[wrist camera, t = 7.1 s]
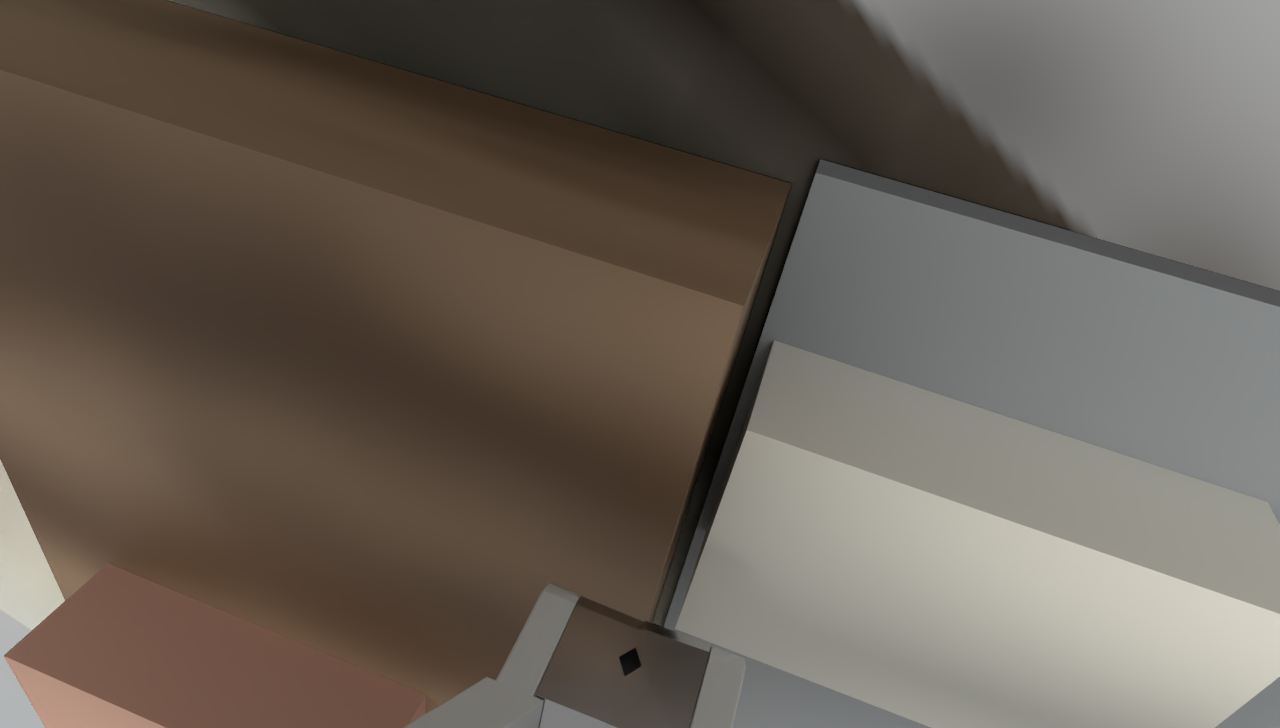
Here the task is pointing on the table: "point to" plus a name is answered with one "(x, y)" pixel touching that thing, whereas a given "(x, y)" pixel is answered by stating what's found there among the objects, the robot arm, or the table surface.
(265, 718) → the clay tile
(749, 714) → the mat
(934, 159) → the table surface
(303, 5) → the table surface
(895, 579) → the cream tile
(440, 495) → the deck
